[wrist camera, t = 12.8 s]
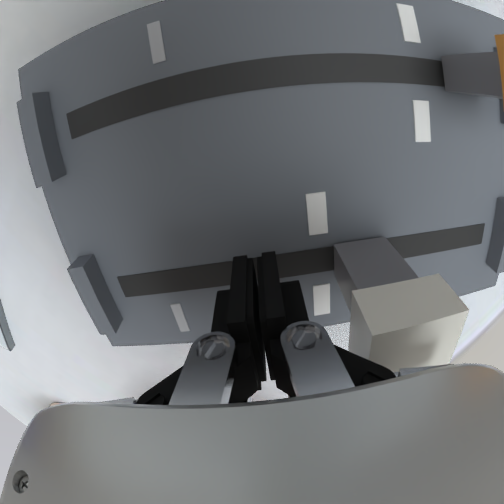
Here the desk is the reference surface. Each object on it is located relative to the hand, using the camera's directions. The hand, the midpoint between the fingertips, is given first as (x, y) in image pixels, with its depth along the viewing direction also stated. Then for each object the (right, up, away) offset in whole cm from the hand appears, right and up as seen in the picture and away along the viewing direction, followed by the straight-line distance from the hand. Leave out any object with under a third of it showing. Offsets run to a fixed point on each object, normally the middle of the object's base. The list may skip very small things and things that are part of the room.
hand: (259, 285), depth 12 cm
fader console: (+2, +5, +1) cm, 6 cm away
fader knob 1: (+4, +1, +1) cm, 5 cm away
